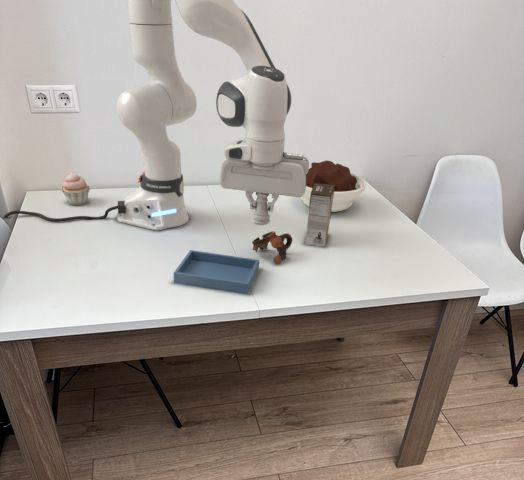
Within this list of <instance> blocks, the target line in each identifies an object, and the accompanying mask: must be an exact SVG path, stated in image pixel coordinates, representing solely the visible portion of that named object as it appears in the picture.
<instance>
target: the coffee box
mask: <svg viewBox="0 0 524 480" xmlns="http://www.w3.org/2000/svg"><path fill="white" fill-rule="evenodd" d="M334 189H335V185H327V184H318V183H314V185H313V188H312V191H311V195H310V204H309V207H308V213H307V222H306V231H305V238H304V239H305V241H304V244H305V245H308V246H314V247H322V248H324V247H326V244H327V240H328V236H329V230H330V229H329V228H330V223H331V215H332V212H331V209H332V203H333V195H334Z"/></svg>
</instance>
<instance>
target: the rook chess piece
mask: <svg viewBox="0 0 524 480" xmlns="http://www.w3.org/2000/svg"><path fill="white" fill-rule="evenodd" d="M254 193H255V196H256V201H257V206H256V210H254V212H253V214H252V219H251V220H252V223H253V224H254V225H257V226H266V225H268V224H270V221H271V219H270V218H271V216H270V214H269V211H266V209H267V204H268V202H269V199H268V197H269V196H270V194H267V193H259V192H254Z"/></svg>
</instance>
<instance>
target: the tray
mask: <svg viewBox="0 0 524 480" xmlns="http://www.w3.org/2000/svg"><path fill="white" fill-rule="evenodd" d="M259 270H260V259H256V258H248V257H243V256H242V257H241V256H236V255H235V256H234V255H227V254H220V253H213V252H206V251H201V250H200V251H199V250H193V249H190V250H188V252H187V254H186V255H185V257H184V258H183V259H182V260H181V262H180V263H179V265H178V266H177V267H176V269H175V270H174V271H173V283H174V284H177V285H185V286H191V287H197V288H203V289H204V288H205V289H210V290H217V291H223V292H229V293H236V294H243V295H249V292H250V291H251V289H252V286H253V284H254V282H255V279H256V277H257V275H258V273H259Z"/></svg>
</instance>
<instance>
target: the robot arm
mask: <svg viewBox="0 0 524 480" xmlns="http://www.w3.org/2000/svg"><path fill="white" fill-rule="evenodd" d="M174 2H175V4H176V7H177V9H178V12H179V14H180V16H181V18H182V20H183V21H184V23H185V24H186V26H187V27H188V28H189V29H190V30H191V31H192V32H195V33H196V34H198V35H199V36H202V37H205V38H210V39H213V40H215V41H218V42H220V43H222V44H224V45H226V46H228V47H230V48H231V49H233V51H235V52H236V54H238V56H239V57H240V59H241V61H242V63H243V65H244V67H245V69H246V71H247V73H246V74H243V76H240V77H238V78H233V79H229V80H227V81H224V82H223V83H222V84H221V85H220V86H219V88H218V91H217V93H216V99H215V101H216V102H215V104H216V105H215V106H216V112H217V115H218V117H219V118H220V120H221V121H222V122H223V123H224V124H225V125H226V126H227V127H232V128H244V129H245V134H244V138H243V139H238V140H235V141H232V142H230V143H229V144H228V145H227V146H226V147H225V148H224V151H223V152H224V153H223V155H224V157H225V158H224V159H223V160H222V162H221V165H220V170H219V184H220V186H221V188H223V189H228V190H236V191H242V192H243V191H244V192H245V198H246V199H247V201H248V203H249V210H254V211H255V210H256V206H257V200H255V199H254V197H253V193H256V192H259V193H267V194H269V195H271V199H272V201H267V209H266V211H268V213H273V212H274V208H275V204H276V202H277V201H278V199H279V197H280V196H284V197H292V198H301V196H303V195H304V193H305V190H306V174H307V173H308V171H309V169H310V161H309V159H308V158H307V157H306V156H304V154H302V153H301V154H300V153H298V154H297V153H291V152H285V143H286V134H285V133H286V132H285V122H286V120H287V116H288V114H289V112H290V109H291V106H292V93H291V92H292V91H291V89H290V87H289V85H288V83H287V77H286V75H285V73H283V72H282V70H280V69H278V68H276V66H275V65H274V62H273V61H272V59H271V57H270V55H269V53H268V50H267V49H266V47H265V45H264V43H263V42H262V40H261V38H260V36H259V34H258V31H257V30H256V28H255V27H254V24H253V23H252V22H251V20H250V18H249V17H248V14H246V13H245V12H244V11H243V9H241V8H240V7H239V6H238V4H237V3H236V2H235V1H234V0H174ZM127 13H128V14H127V15H128V25H129V26H128V27H129V34H130V43H131V53H132V56H133V58H134V60H135V62H136V63H137V64H139V65H140V66H141V67H142V68H144V69H145V71H146V73H147V75H148V78H149V83H150V84H146V85H145V84H144V85H138V86H134V87H132V88H129V89H127V90H125V91H123V92H121V93H120V94H119V96H118V97H117V101H116V112H117V116H118V118H119V120H120V121H121V123H122V124H123V125H124V127H125V128H126V129H128V130H129V131H131V133H132V134H133V135H134V136H135V138H136V139H137V141H138V143H139V144H138V145H139V146H140V149H141V154H142V161H143V170H144V171H143V172H142V174H140V175H139V177H138V178H137V183H138V184H139V183H140V184H139V186H138V187H137V188H135V189H134V190H133V191H132V192H130V193H129V194H128V195H127V196H126V198H125V200H117V205H116V206H111V207H109V208H107V209H106V210H105V211H104V214H103V215H101V216H87V215H77V216H68V217H60V218H55V217H54V218H53V217H49V216H47V215H44V214H42V213H39V212H35V211H25V210H11V211H9V212H7V213H6V214H4V215H3V216H2V218H3V219H7V218H8V217H10V216H12V215H28V216H34V217H35V216H36V217H38V218H41V219H43V220H46V221H48V222H67V221H74V220H91V221H92V220H93V221H94V220H104V219H106V218H107V217H108V215H109V213H110V212H112V211H114V210H117V216H116V217H117V218H116V219H117V222H120V223H123V224H127V225H131V226H136V227H140V228H143V229H147V230H152V231H162V230H165V229H169V228H177V227H180V226H183V225H185V224H186V223H188V222H189V219H190V218H189V215H188V212H187V207H186V204H185V197H184V193H185V182H184V175H183V173H182V158H181V156H182V154H181V150H180V147H179V145H177V144H176V143H175V142H174V141H172V140H171V139H170V138H169V136H168V132H167V127H169V126H173V125H177V124H181V123H184V122H185V121H187V120H189V119H190V118H192V117H193V116H194V115H195V113H196V111H197V105H198V103H197V102H198V101H197V96H196V93H195V91H194V89H193V88H192V87H191V85H189V84H188V83H187V82H186V80H185V79H184V77H183V75H182V73H181V71H180V68H179V64H178V61H177V56H176V49H175V38H174V37H175V36H174V25H173V14H172V13H173V12H172V0H127Z"/></svg>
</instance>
